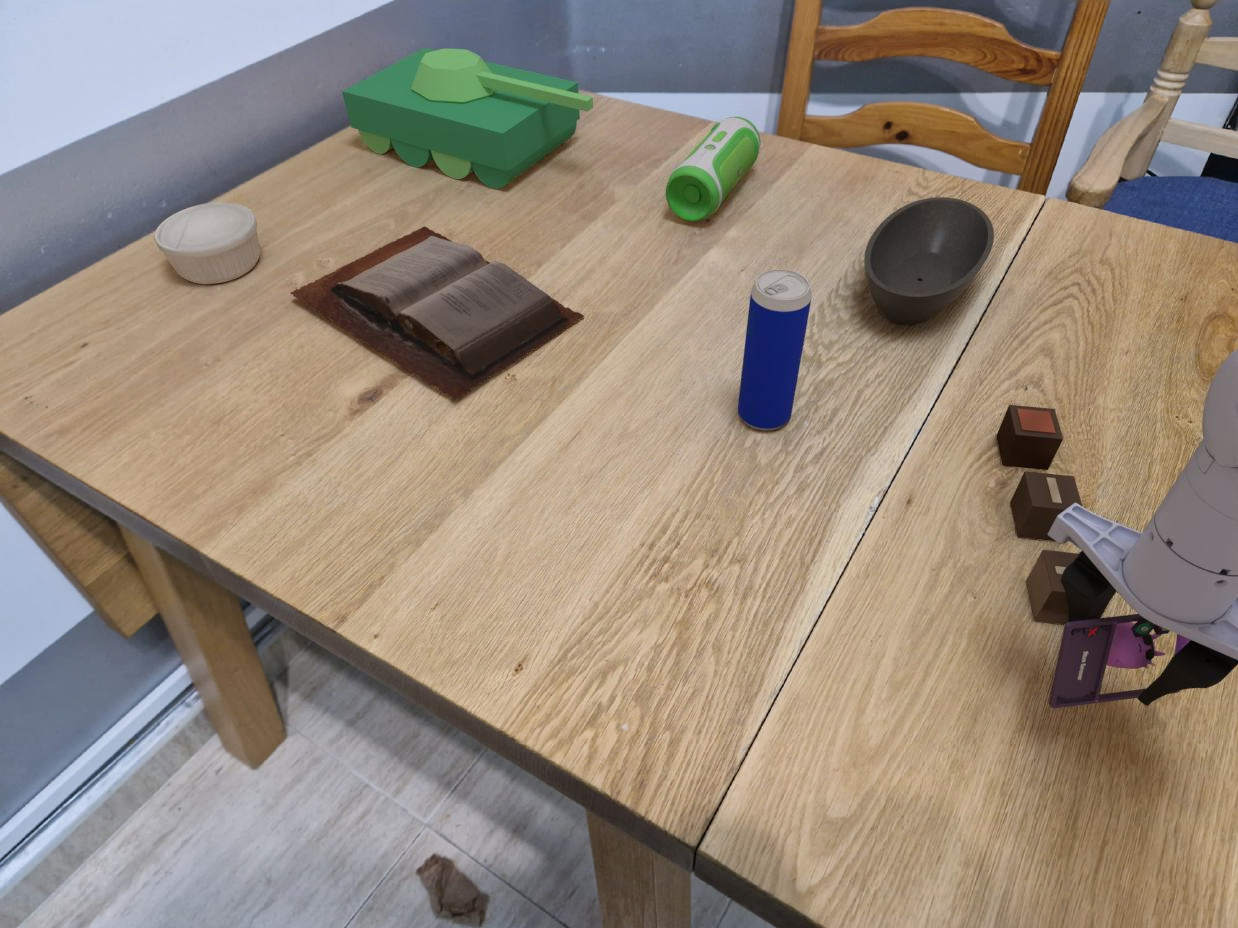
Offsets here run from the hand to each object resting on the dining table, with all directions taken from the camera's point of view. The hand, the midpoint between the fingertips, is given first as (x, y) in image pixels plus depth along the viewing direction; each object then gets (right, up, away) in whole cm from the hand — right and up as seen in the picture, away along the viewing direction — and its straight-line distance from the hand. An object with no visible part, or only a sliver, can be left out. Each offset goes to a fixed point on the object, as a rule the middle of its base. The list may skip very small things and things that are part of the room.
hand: (1113, 665), depth 57 cm
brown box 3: (+2, +2, +10) cm, 11 cm away
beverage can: (-19, +18, +26) cm, 37 cm away
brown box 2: (+3, +8, +16) cm, 19 cm away
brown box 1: (+4, +14, +22) cm, 27 cm away
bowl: (+1, +33, +40) cm, 52 cm away
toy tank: (-51, +58, +66) cm, 102 cm away
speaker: (-21, +49, +57) cm, 78 cm away
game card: (0, -1, +1) cm, 2 cm away
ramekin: (-81, +37, +47) cm, 101 cm away
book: (-53, +31, +40) cm, 73 cm away
